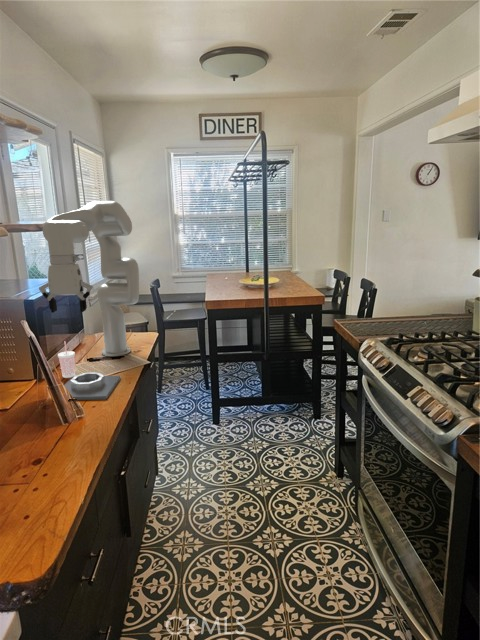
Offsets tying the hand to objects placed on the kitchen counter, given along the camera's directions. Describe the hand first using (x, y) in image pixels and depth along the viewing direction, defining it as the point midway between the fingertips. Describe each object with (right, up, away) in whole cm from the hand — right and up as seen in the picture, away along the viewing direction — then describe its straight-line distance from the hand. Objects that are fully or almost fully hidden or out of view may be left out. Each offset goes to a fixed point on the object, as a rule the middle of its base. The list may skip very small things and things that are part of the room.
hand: (68, 311), depth 137 cm
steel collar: (+3, -26, +9) cm, 28 cm away
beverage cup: (-9, -25, +21) cm, 34 cm away
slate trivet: (+3, -28, +9) cm, 29 cm away
